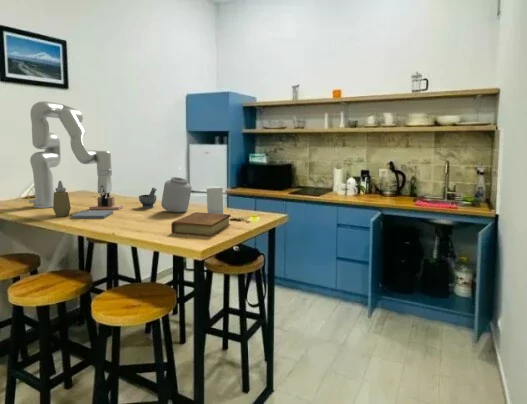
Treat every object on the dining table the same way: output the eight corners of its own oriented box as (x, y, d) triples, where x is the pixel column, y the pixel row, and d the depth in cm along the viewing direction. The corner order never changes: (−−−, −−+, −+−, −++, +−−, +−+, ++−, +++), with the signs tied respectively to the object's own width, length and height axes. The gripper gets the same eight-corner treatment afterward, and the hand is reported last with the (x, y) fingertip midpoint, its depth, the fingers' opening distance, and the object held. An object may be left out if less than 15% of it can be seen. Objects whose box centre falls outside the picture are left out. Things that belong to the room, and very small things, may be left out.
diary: (194, 223, 189) (194, 212, 189) (230, 226, 185) (230, 214, 184) (171, 234, 167) (171, 221, 167) (212, 237, 163) (212, 224, 162)
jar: (199, 210, 220) (199, 166, 216) (187, 215, 206) (186, 168, 202) (170, 208, 226) (169, 165, 222) (156, 212, 212) (154, 166, 208)
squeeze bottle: (74, 214, 204) (72, 180, 201) (62, 217, 196) (59, 182, 193) (62, 213, 206) (60, 179, 204) (49, 216, 199) (47, 181, 196)
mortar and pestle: (135, 207, 226) (135, 187, 224) (146, 205, 234) (146, 185, 232) (151, 209, 221) (150, 188, 219) (161, 207, 230) (161, 186, 228)
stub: (89, 209, 218) (88, 198, 217) (94, 207, 226) (93, 196, 225) (118, 209, 219) (118, 198, 218) (122, 207, 227) (122, 196, 226)
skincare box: (222, 214, 209) (222, 186, 206) (223, 217, 202) (223, 187, 200) (206, 215, 207) (206, 186, 205) (207, 217, 201) (206, 187, 198)
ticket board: (71, 218, 194) (71, 215, 194) (82, 213, 208) (82, 210, 208) (104, 218, 195) (104, 215, 195) (113, 213, 209) (112, 210, 209)
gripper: (102, 171, 227) (104, 202, 230) (92, 174, 210) (94, 207, 213) (115, 171, 227) (117, 202, 230) (106, 174, 211) (108, 207, 214)
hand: (106, 204), depth 222 cm, fingers closed on stub, 4 cm apart
